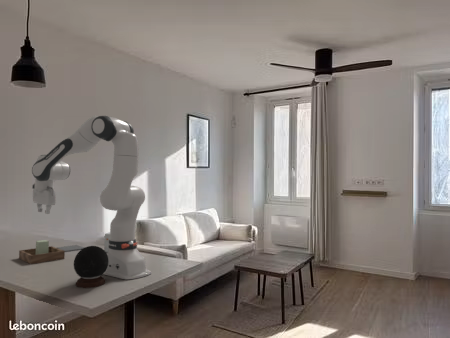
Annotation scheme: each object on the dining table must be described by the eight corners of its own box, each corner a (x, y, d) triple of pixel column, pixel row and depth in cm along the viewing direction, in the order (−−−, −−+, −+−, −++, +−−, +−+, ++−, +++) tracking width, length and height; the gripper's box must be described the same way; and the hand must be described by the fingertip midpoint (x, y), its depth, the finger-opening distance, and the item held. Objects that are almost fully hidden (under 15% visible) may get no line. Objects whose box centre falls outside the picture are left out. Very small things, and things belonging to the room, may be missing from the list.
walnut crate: (64, 258, 176) (64, 250, 176) (30, 264, 164) (31, 255, 164) (51, 253, 186) (51, 246, 186) (19, 258, 174) (19, 250, 174)
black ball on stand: (111, 278, 144) (113, 243, 144) (102, 288, 131) (103, 249, 131) (80, 278, 143) (81, 242, 144) (67, 288, 130) (68, 249, 131)
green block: (48, 258, 175) (48, 241, 175) (38, 260, 172) (39, 242, 172) (44, 257, 178) (45, 239, 178) (35, 258, 175) (36, 240, 175)
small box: (121, 250, 198) (122, 232, 198) (117, 252, 192) (118, 234, 192) (108, 250, 198) (108, 232, 199) (103, 252, 193) (104, 233, 193)
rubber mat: (85, 248, 200) (85, 247, 200) (65, 251, 191) (65, 250, 191) (76, 245, 208) (76, 244, 208) (56, 248, 199) (56, 247, 199)
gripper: (59, 186, 171) (58, 214, 171) (43, 185, 185) (42, 210, 185) (46, 186, 167) (45, 215, 166) (30, 185, 180) (29, 211, 180)
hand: (43, 212), depth 176 cm, fingers open, 8 cm apart
